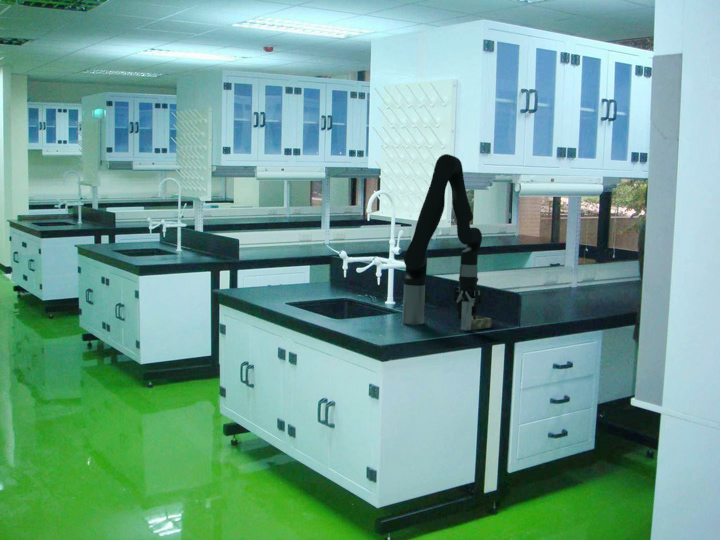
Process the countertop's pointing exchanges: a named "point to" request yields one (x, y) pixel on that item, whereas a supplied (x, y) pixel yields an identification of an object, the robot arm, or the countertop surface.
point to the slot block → (480, 322)
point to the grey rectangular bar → (466, 315)
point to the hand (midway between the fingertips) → (466, 313)
